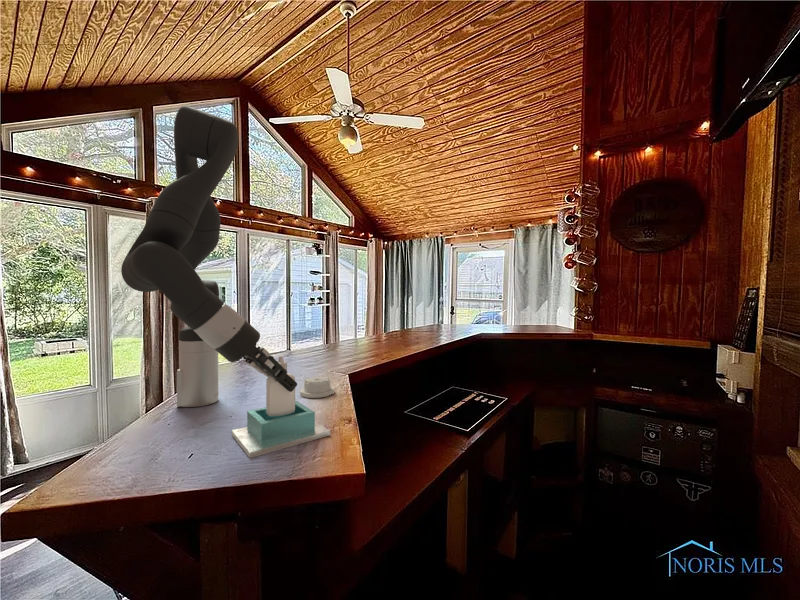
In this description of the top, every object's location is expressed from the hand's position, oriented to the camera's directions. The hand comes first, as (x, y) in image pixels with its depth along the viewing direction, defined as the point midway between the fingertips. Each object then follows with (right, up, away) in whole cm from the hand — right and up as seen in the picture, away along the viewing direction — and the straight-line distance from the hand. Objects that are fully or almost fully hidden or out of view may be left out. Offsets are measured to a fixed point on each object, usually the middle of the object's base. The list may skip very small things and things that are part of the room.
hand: (289, 385), depth 73 cm
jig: (-2, -10, -1) cm, 10 cm away
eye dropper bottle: (-2, -6, -1) cm, 6 cm away
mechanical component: (-1, -10, +29) cm, 31 cm away
